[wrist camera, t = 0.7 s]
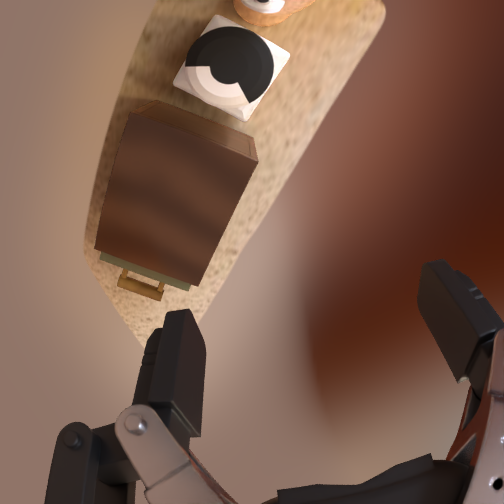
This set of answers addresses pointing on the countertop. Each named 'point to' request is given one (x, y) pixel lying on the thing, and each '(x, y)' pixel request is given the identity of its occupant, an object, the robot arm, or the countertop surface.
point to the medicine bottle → (230, 67)
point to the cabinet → (173, 190)
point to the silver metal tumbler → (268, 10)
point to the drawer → (137, 285)
